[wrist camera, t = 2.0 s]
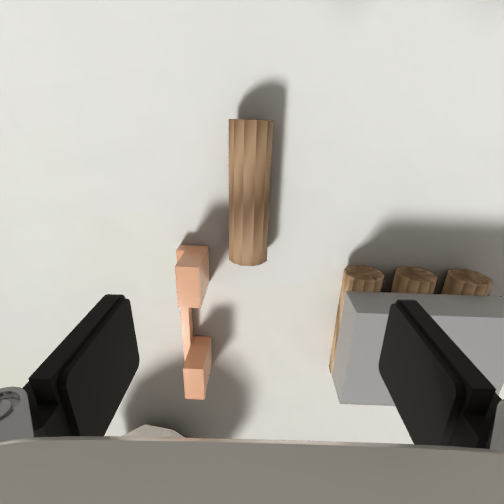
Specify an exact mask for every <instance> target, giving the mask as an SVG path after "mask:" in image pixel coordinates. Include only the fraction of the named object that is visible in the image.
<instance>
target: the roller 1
mask: <svg viewBox="0 0 504 504" xmlns="http://www.w3.org/2000/svg"><path fill="white" fill-rule="evenodd" d="M272 141H273V120H247V119H229V260H230V261H232V262H233V263H235V264H238V265H242V266H255V265H260V264H262V263H264V262H265V261H267V243H268V222H269V202H270V182H271V161H272Z"/></svg>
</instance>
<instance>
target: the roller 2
mask: <svg viewBox="0 0 504 504" xmlns="http://www.w3.org/2000/svg"><path fill="white" fill-rule="evenodd" d="M383 279H384V275H383V274H382V272H381V271H379V270H377V269H375V268H373V267H369V266H364V265H351V266H347V267H346V268H345V269H344V274H343V280H342V286H341V293H340V299H339V305H338V312H337V318H336V325H335V331H334V337H333V344H332V350H331V357H330V363H329V369H330V373H331V374H332V371H333V365H334V359H335V353H336V347H337V340H338V334H339V328H340V322H341V316H342V310H343V304H344V298H345V292H346V291H358V292H381V288H382V284H383Z"/></svg>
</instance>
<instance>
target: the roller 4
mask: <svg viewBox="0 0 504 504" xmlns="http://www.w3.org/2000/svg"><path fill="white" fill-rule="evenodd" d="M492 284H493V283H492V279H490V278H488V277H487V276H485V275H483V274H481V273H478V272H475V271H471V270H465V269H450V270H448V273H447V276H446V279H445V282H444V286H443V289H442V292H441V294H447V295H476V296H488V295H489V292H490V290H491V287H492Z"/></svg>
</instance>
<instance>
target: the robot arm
mask: <svg viewBox="0 0 504 504" xmlns="http://www.w3.org/2000/svg"><path fill="white" fill-rule="evenodd" d="M138 366H139V353H138V347H137V341H136V335H135V329H134V323H133V317H132V311H131V305H130V301H129V299H125V297H124V295H110V294H107V295H105V296H104V297H103V298H102V299H101V300H100V301H99V302H98V303H97V304H96V305H95V307H94V308H93V309H92V310H91V311H90V312H89V313H88V314H87V315H86V316H85V317H84V319H83V320H82V321H81V322H80V323H79V324H78V325H77V326H76V327H75V328H74V329H73V330H72V332H71V333H70V334H69V335H68V336H67V337H66V338H65V339H64V340H63V341H62V342H61V344H60V345H59V346H58V347H57V348H56V349H55V350H54V351H53V352H52V353H51V354H50V356H49V357H48V358H47V359H46V360H45V361H44V362H43V363H42V364H41V365H40V366H39V367H38V369H37V370H36V371H35V372H34V373H33V374H32V375H31V376H30V377H29V378H28V379H29V382H28V383H27V384H26V385H25V386H24V387H23V388H20V387H6V388H1V389H0V504H504V399H503V400H502V399H501V398H500V397H499V396H498V395H497V394H496V392H495V391H496V388H495V387H494V386H493V385H492V384H491V383H490V381H489V380H488V379H487V378H486V377H485V376H484V375H483V374H482V373H481V371H480V370H479V369H478V368H477V367H476V366H475V365H474V364H473V363H472V361H471V360H470V359H469V358H468V357H467V356H466V355H465V354H464V353H463V352H462V350H461V349H460V348H459V347H458V346H457V345H456V344H455V343H454V342H453V340H452V339H451V338H450V337H449V336H448V335H447V334H446V333H445V332H444V330H443V329H442V328H441V327H440V326H439V325H438V324H437V323H436V322H435V321H434V319H433V318H432V317H431V316H430V315H429V314H428V313H427V312H426V311H425V309H424V308H423V307H422V306H421V305H420V304H419V303H418V302H417V301H416V300H399V299H398V300H397V301H396V302H395V303H393V304H391V306H390V310H389V315H388V320H387V325H386V329H385V334H384V339H383V344H382V349H381V354H380V359H379V364H378V367H379V373H380V375H381V377H382V379H383V381H384V383H385V385H386V387H387V389H388V391H389V393H390V396H391V398H392V400H393V402H394V404H395V406H396V408H397V410H398V412H399V414H400V416H401V418H402V420H403V422H404V424H405V426H406V428H407V430H408V432H409V435H410V437H411V439H412V441H413V443H414V444H392V443H360V442H329V441H295V440H258V439H218V438H171V437H118V436H104V435H105V433H106V431H107V429H108V427H109V425H110V423H111V421H112V419H113V417H114V415H115V413H116V411H117V409H118V407H119V405H120V403H121V401H122V399H123V397H124V395H125V393H126V391H127V389H128V387H129V385H130V383H131V381H132V379H133V377H134V375H135V373H136V371H137V369H138Z"/></svg>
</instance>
